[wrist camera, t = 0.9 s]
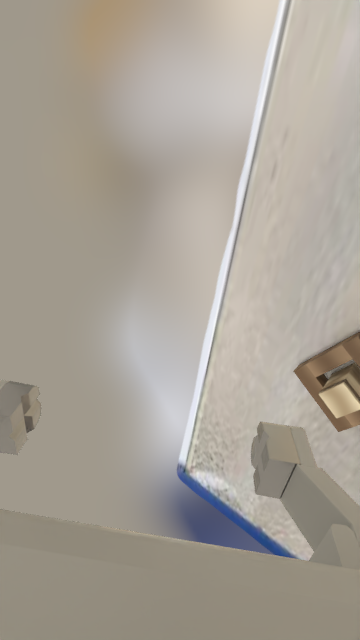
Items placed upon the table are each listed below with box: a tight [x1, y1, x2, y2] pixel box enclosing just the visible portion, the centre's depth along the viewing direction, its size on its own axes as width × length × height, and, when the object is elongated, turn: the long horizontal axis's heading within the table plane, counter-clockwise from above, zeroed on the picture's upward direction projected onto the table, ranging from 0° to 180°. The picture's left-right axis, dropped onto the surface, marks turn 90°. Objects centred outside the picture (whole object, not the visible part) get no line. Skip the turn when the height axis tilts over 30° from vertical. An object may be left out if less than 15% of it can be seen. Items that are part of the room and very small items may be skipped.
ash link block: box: [319, 363, 360, 418], centre depth 46 cm, size 4×4×8 cm
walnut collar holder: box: [294, 332, 360, 432], centre depth 48 cm, size 12×12×3 cm
